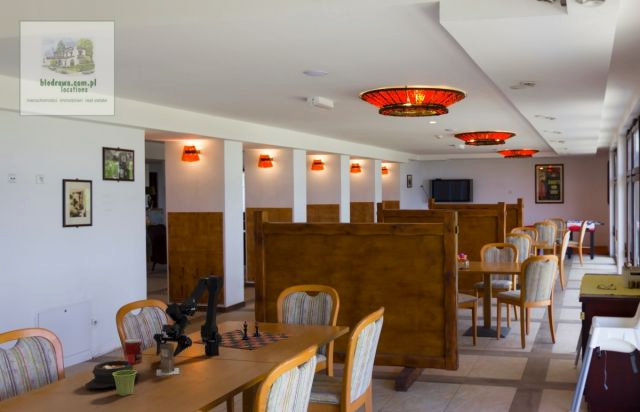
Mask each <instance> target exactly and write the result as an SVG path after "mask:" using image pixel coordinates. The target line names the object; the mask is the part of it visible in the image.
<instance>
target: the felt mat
mask: <svg viewBox="0 0 640 412" xmlns="http://www.w3.org/2000/svg"><path fill="white" fill-rule="evenodd" d="M174 368H175V371H173V372H171V373H163V372H161V368H159V369H156V376H155V377H160V376H171V375H173V374H174V375H179V374H180V369H179V367H174Z"/></svg>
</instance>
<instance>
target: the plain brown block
mask: <svg viewBox="0 0 640 412" xmlns="http://www.w3.org/2000/svg"><path fill="white" fill-rule="evenodd" d="M174 346H175V344H174V343H172V342H169V343H168V342H166V343H164V344H162V345H160V359H161V361H160V365H161V367H160V369H161V372H163V373H171V372H173V371H175V368H176V367H175V357H174V356H173V354H174V352H175V347H174Z"/></svg>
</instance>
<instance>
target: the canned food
mask: <svg viewBox="0 0 640 412" xmlns="http://www.w3.org/2000/svg"><path fill="white" fill-rule="evenodd" d="M142 341H143V340H142V338H135V337H134V338H128V339H125V341H124V351H125V355H124V356H125V361H127V362H130V363H131V365H138V364H141V363H142V362H143V342H142Z"/></svg>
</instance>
